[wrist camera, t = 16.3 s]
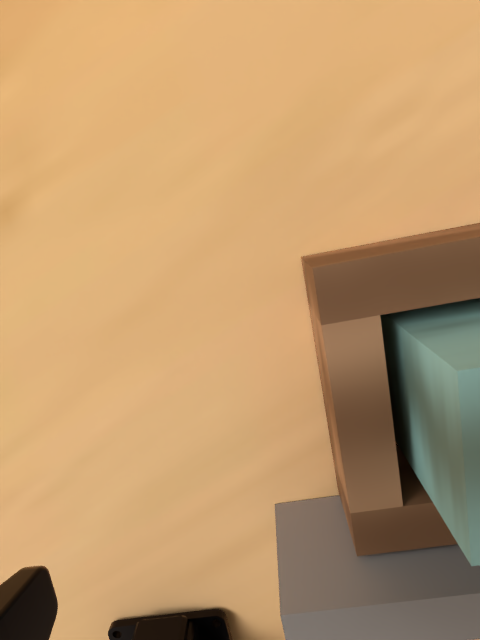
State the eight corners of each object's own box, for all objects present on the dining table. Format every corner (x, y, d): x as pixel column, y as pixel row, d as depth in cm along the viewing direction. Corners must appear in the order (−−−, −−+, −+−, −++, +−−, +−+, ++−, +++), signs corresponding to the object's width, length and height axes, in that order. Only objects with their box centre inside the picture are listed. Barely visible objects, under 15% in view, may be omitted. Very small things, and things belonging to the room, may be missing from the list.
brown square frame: (589, 457, 19) (672, 517, 15) (338, 491, 20) (357, 556, 16) (588, 202, 17) (688, 197, 13) (301, 256, 18) (312, 267, 14)
